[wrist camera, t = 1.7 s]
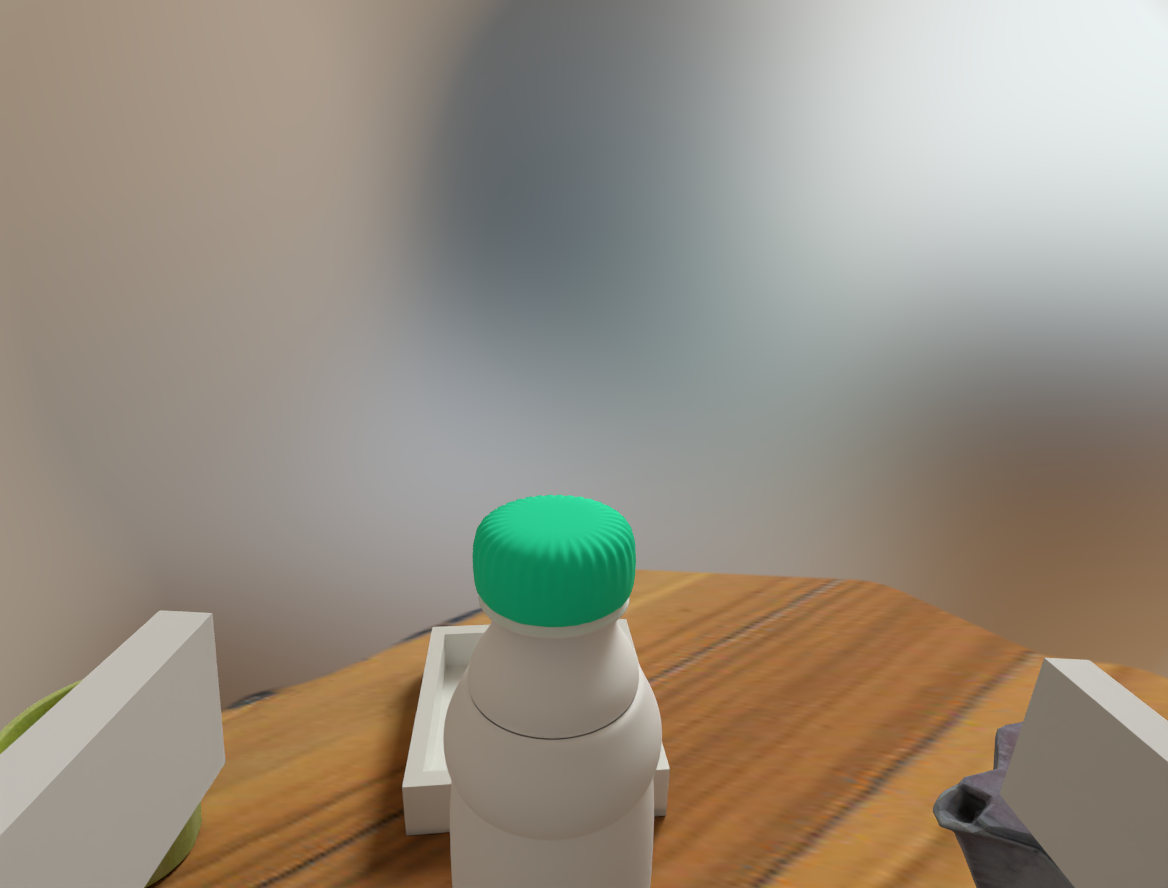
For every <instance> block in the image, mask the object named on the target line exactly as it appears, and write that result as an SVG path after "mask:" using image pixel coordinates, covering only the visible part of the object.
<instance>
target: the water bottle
mask: <svg viewBox="0 0 1168 888" xmlns="http://www.w3.org/2000/svg"><path fill="white" fill-rule="evenodd" d="M635 556H636V554H635V541H634V536H633V533H632V529H631V527H630V525H629V524H628V522H627V521H626V519H625V518H624V517H623V516H622V515H620V513H619V512H618V511H616V510H614V509H612V508H611V507H610V506H607V505H604V504H602V503H601V502H597V501H594V500H592V499H584V498H583V497H574V496H570V495H569V496H563V495H556V496H553V495H547V496H541V495H539V496H536V497H526V498H525V499H518V500H516V501H515V502H514V501H513V502H509V503H507V504H506V505H502V506H500V507H498V508H497V509H495V510H494V511H492V512H491V513H490V514H489V515H487V516H486V517H485V518H484V519H483V520H482V522H481V524H480V525H479V526H478V528H477V531H476V535H475V539H474V545H473V571H474V580H475V586H476V589H477V592H478V594H479V603H480V606H481V608H482V610H483V611H484V613H485V614H486V615H487V616H488V617H489V618H490V619H491V620H492V622H491V624H490V626H489V627H488V628H487V630H486V631H485V632H484V634H483V635H482V637H481V638H480V640H479V641H478V643H477V645H476V647H475V649H474V651H473V654H472V657H471V660H470V664H469V665H468V667H467V669H466V670H465V672H464V674H463V676H462V678H461V680H460V681H459V683H458V685H457V687H456V689H455V691H454V693H453V696H452V698H451V701H450V703H449V706H448V710H447V713H446V718H445V724H444V736H443V743H444V754H445V760H446V765H447V769H448V772H449V775H450V778H451V795H450V852H451V872H452V888H650V881H651V869H652V854H653V834H654V782H653V777H654V774H655V772H656V769H657V765H658V762H659V757H660V752H661V743H662V727H661V718H660V713H659V709H658V705H657V702H656V699H655V696H654V693H653V691H652V689H651V687H650V685H649V683H648V681H647V679H646V677H645V675H644V673H643V671H642V669H641V668H640V666H639V664H638V663H637V658H636V655H635V652H634V649H633V647H632V645H631V643H630V641H629V639H628V638H627V636H626V635H625V633H624V632H623V631H622V629H621V628H620V626H619V625H618V624H617V620H618V619H619V618H620V617H621V616H622V615H623V614H624V613H625V611H626V610H627V607H628V605H629V596H630V594H631V592H632V588H633V585H634V578H635V566H636V557H635Z"/></svg>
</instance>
